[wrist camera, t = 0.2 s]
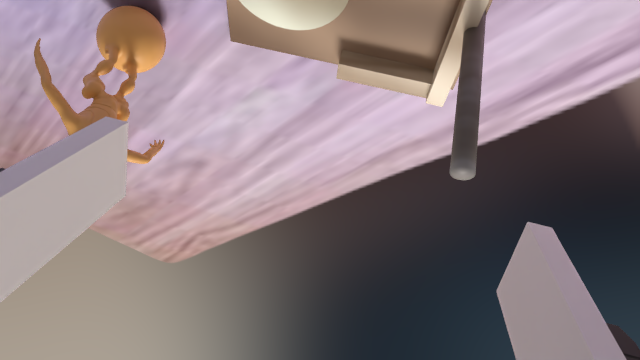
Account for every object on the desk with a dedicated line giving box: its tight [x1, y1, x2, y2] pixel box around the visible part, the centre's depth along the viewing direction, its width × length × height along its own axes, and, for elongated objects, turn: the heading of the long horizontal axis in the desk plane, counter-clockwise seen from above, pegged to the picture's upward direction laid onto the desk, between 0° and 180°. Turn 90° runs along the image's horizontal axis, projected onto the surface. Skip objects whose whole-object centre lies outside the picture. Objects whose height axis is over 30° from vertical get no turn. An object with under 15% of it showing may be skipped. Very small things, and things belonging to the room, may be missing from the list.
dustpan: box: [227, 0, 492, 180], centre depth 23 cm, size 11×14×10 cm
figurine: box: [34, 6, 166, 164], centre depth 27 cm, size 8×6×12 cm
